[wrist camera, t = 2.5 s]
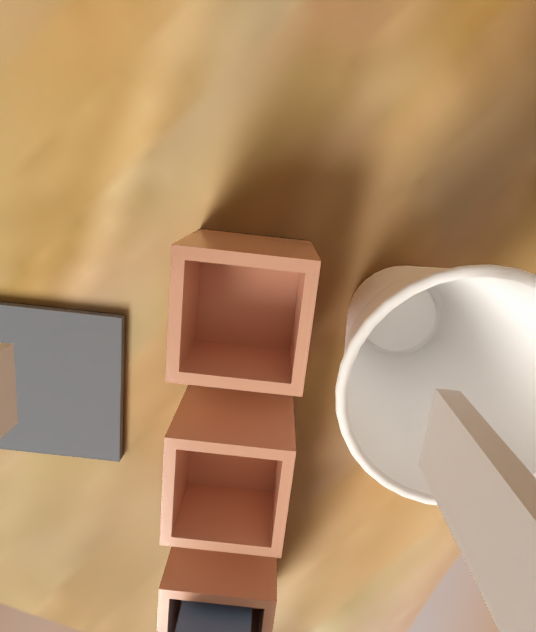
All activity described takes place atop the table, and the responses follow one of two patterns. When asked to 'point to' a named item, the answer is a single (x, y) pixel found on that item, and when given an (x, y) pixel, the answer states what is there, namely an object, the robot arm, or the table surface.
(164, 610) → the pot
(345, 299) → the table surface
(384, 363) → the cup
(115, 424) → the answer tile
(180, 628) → the blue rectangular block
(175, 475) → the pot
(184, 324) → the pot
